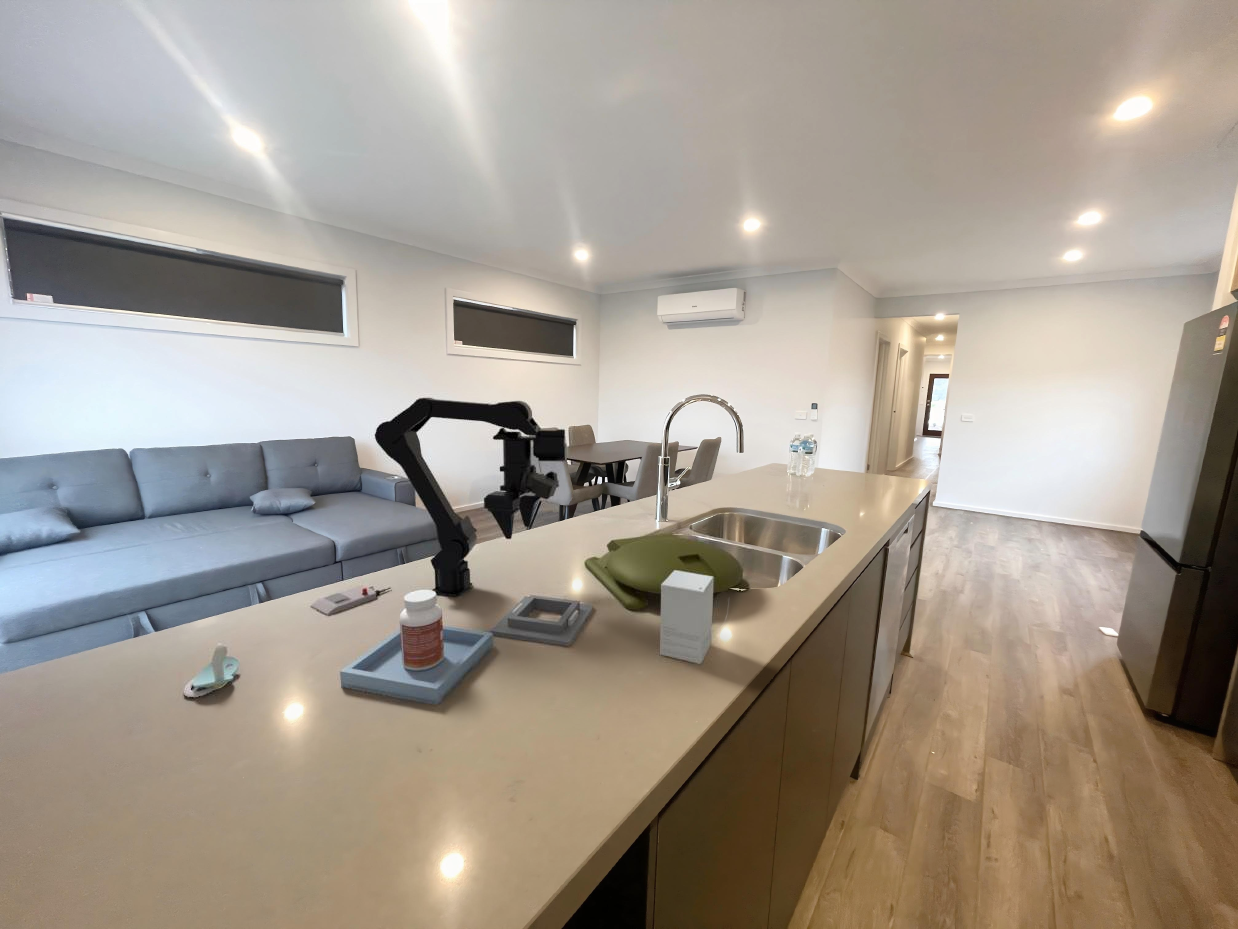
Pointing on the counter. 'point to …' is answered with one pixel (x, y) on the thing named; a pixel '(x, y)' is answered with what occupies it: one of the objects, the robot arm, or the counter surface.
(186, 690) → the pacifier
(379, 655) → the tray
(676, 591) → the supplement box
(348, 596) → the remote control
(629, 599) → the spaceship
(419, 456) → the robot arm
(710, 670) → the counter surface
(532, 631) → the grey square frame
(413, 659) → the pill bottle
